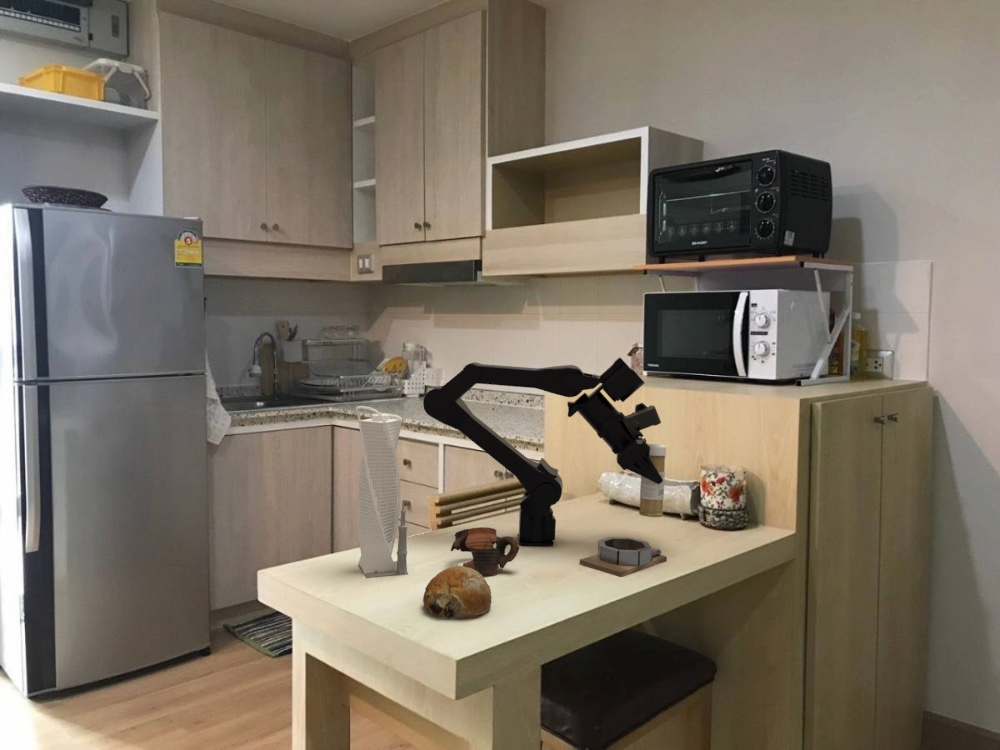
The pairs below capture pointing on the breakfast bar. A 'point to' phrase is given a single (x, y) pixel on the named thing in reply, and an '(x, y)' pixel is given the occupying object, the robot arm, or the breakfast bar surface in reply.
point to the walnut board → (616, 569)
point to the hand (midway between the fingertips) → (659, 480)
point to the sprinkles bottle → (653, 485)
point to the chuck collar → (625, 551)
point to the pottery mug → (485, 549)
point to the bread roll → (457, 594)
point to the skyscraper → (380, 497)
